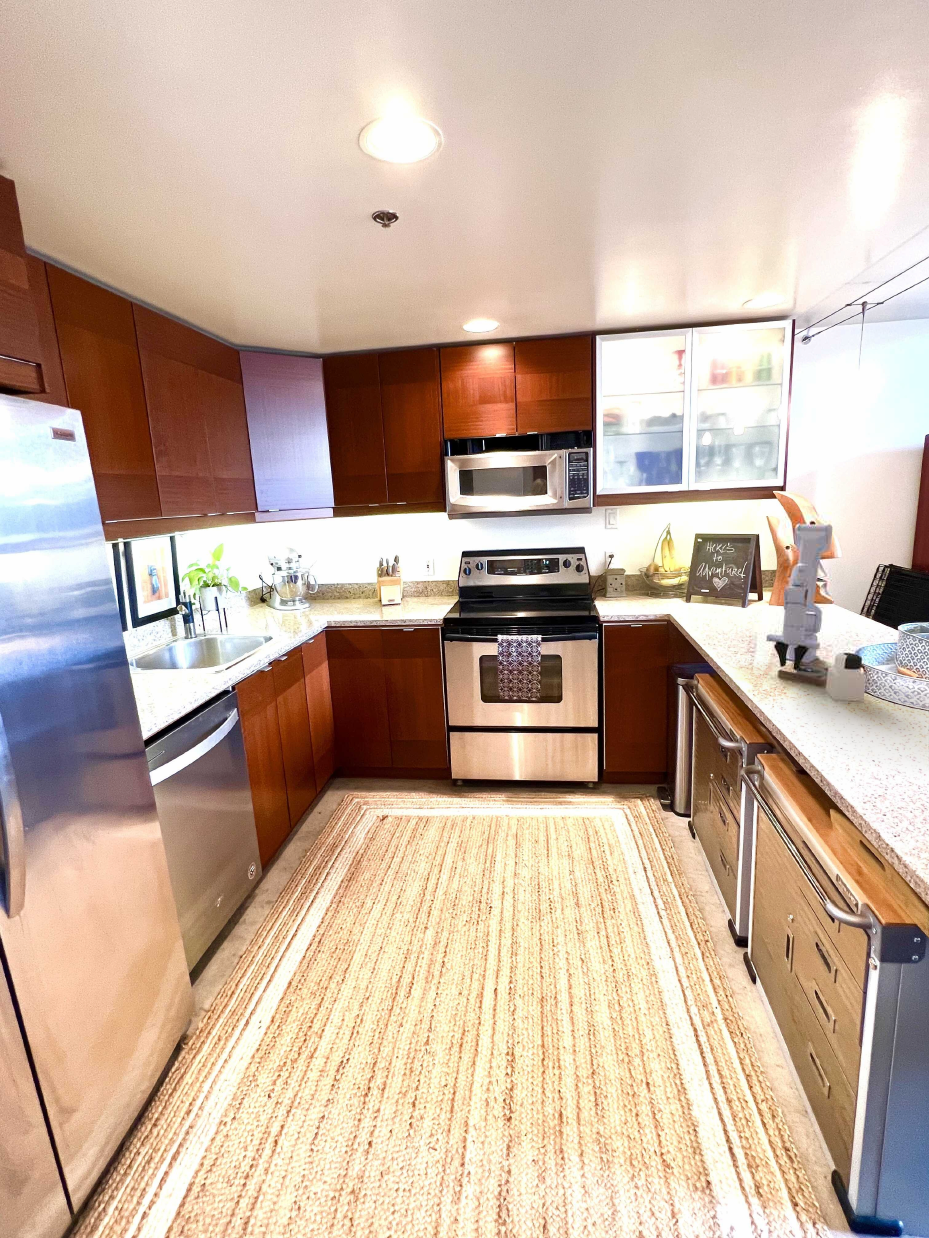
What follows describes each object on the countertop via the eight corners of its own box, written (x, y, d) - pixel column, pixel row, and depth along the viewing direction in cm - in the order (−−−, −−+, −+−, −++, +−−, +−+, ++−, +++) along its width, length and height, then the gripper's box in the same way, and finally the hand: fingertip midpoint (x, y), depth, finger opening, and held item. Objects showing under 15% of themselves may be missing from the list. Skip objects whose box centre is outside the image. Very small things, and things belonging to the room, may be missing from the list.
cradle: (795, 667, 183) (795, 661, 183) (838, 676, 174) (839, 670, 173) (777, 676, 175) (778, 670, 175) (822, 686, 166) (822, 680, 166)
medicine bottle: (853, 692, 161) (859, 651, 158) (863, 702, 154) (869, 659, 152) (825, 691, 163) (829, 650, 160) (833, 700, 156) (838, 657, 154)
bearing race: (803, 671, 179) (803, 664, 179) (831, 677, 173) (832, 669, 173) (791, 677, 175) (792, 669, 174) (820, 684, 169) (820, 676, 168)
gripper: (763, 623, 178) (759, 665, 181) (814, 631, 167) (809, 676, 170) (773, 619, 183) (769, 660, 186) (824, 627, 172) (819, 670, 175)
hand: (789, 667), depth 178 cm, fingers open, 3 cm apart
